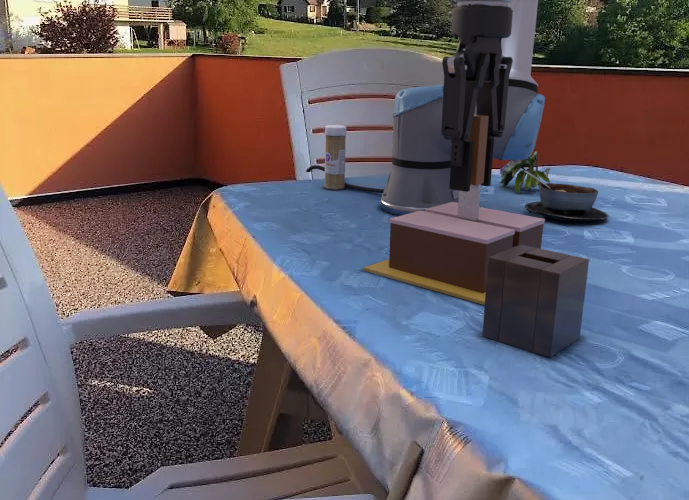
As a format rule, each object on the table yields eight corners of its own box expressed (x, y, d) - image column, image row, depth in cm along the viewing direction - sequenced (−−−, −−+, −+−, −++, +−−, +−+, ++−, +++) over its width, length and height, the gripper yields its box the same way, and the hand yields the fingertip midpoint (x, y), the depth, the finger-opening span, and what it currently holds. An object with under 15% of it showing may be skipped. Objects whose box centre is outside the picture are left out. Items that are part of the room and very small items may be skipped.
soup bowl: (560, 229, 123) (564, 187, 121) (504, 209, 137) (507, 171, 135) (625, 222, 128) (631, 182, 126) (566, 204, 142) (570, 167, 140)
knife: (451, 266, 99) (461, 114, 93) (459, 263, 101) (469, 113, 95) (469, 271, 97) (480, 116, 91) (477, 268, 99) (488, 115, 93)
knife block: (481, 336, 77) (488, 256, 74) (513, 318, 82) (520, 244, 79) (550, 358, 72) (559, 273, 69) (579, 338, 77) (589, 259, 74)
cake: (363, 270, 98) (365, 218, 96) (444, 243, 113) (447, 197, 111) (489, 306, 86) (494, 247, 83) (563, 270, 100) (568, 219, 98)
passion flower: (503, 210, 160) (499, 162, 164) (553, 205, 157) (548, 156, 161) (499, 190, 150) (494, 140, 154) (552, 184, 147) (546, 133, 151)
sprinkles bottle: (320, 188, 153) (320, 125, 150) (333, 185, 157) (334, 124, 153) (336, 191, 151) (337, 127, 147) (349, 188, 154) (350, 125, 150)
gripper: (471, 0, 81) (457, 201, 87) (542, 8, 93) (526, 182, 100) (417, 1, 85) (408, 192, 92) (492, 9, 98) (480, 175, 105)
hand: (470, 186), depth 96 cm, fingers open, 5 cm apart
